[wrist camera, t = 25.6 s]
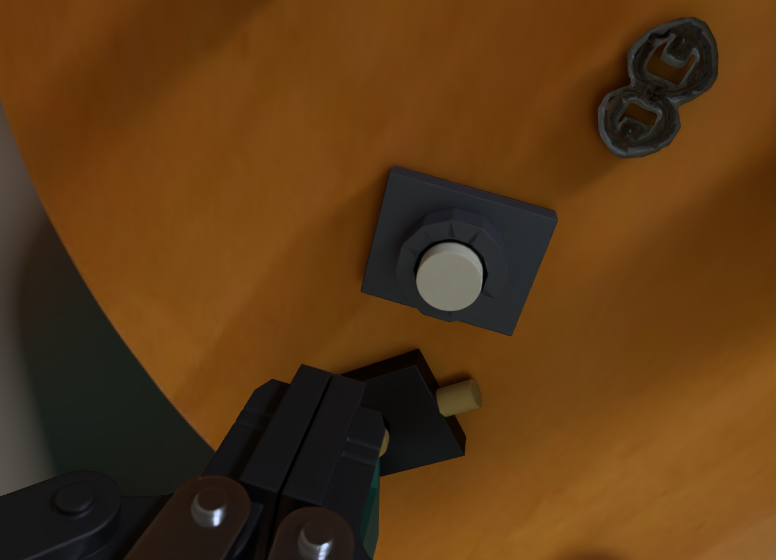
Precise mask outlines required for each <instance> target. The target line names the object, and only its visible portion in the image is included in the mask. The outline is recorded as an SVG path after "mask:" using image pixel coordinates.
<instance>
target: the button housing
mask: <svg viewBox="0 0 776 560" xmlns="http://www.w3.org/2000/svg"><path fill="white" fill-rule="evenodd" d="M557 222H558V219H557V215H556V212H555V211H553V210H549V209H546V208H542V207H539V206H535V205H532V204H528V203H525V202H521V201H517V200H514V199H510V198H507V197H503V196H500V195H496V194H493V193H489V192H486V191H482V190H479V189H475V188H471V187H468V186H464V185H461V184H457V183H454V182H450V181H447V180H443V179H440V178H436V177H433V176H429V175H425V174H422V173H418V172H415V171H411V170H408V169H404V168H401V167H397V166H393V168H392V169H391V171H390V172H389V175H388V179H387V183H386V188H385V192H384V196H383V200H382V204H381V208H380V213H379V217H378V221H377V225H376V229H375V233H374V237H373V242H372V246H371V250H370V254H369V258H368V262H367V267H366V271H365V275H364V279H363V283H362V287H361V292H363V293H366V294H369V295H373V296H376V297H380V298H383V299H386V300H390V301H393V302H396V303H400V304H403V305H407V306H410V307H413V308H417V309H418V310H419V311H420V312H421V313H423V314H424V315H427V316H431V317H434V318H437V319H441V320H444V321H447V322H453V321H461V322H464V323H468V324H471V325H474V326H478V327H481V328H485V329H488V330H491V331H495V332H498V333H502V334H505V335H508V336H512V334H513V331H514V329H515V326H516V324H517V321H518V319H519V316H520V314H521V311H522V309H523V306H524V304H525V301H526V299H527V296H528V294H529V291H530V289H531V286H532V284H533V281H534V279H535V276H536V274H537V271H538V269H539V266H540V264H541V261H542V259H543V256H544V254H545V251H546V249H547V247H548V244H549V242H550V239H551V237H552V234H553V232H554V229H555V227H556V224H557ZM443 242H457V243H461V244H464V245H466V246H468V247H469V248H471V249H472V250H473V251H474V252H475V253H476V254H477V255H478V257H479V259H480V261H481V263H482V268H483V276H482V287H481V291H480V293H479V295H478V297H477V299H476V300H475V301H474V302H473V303H472V304H470V305H469V306H467V307H465V308H463V309H460V310H456V311H445V310H440V309H437V308H435V307H433V306H431V305H430V304H428V303H427V302H426V301H425V300H424V299H423V298H422V296H421V295H420V293H419V291H418V288H417V284H416V276H417V272H418V269H419V265H420V262H421V259H422V257H423V255H424V254H425V253H426V252H427V251H428V250H429V249H430V248H431V247H433V246H434V245H437V244H439V243H443Z"/></svg>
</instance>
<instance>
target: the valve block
mask: <svg viewBox="0 0 776 560" xmlns="http://www.w3.org/2000/svg"><path fill="white" fill-rule="evenodd" d="M341 376H344V377H348V378H351V379H354V380H358V381H361V382H364V383H365V387H364V391H363V395H362V399H361V402H360V406H364V407H367V408H370V409H373V410H377V411H380V412H381V414H382V418H383V421H384V425H385V428H386V429H387V431H388V433H389V442H388V446H387V450H386V452H385V453H384V454H383V455H382V456H380V477H381V476H385V475H389V474H393V473H397V472H401V471H405V470H409V469H413V468H417V467H421V466H425V465H429V464H433V463H437V462H441V461H445V460H449V459H453V458H457V457H461V456H464V455H465V444H466V436H465V434H464V432H463V430H462V428H461V426H460V424H459V423H458V421H457V419H456V417H455V414H459V413H462V412H466V411H469V410H473V409H477V408H480V407H481V405H482V400H481V395H480V391H479V388H478V386H477V384H476V382H475V381H474V380H473V379H469V380H466V381H462V382H459V383H456V384H452V385H449V386H446V387H442V388H440V387H439V385H438V383H437V381H436V380H435V378H434V376H433V374H432V372H431V370H430V368H429V366H428V365H427V363H426V361H425V359H424V357H423V355H422V353H421V351H420V350H419V349H417V350H414V351H411V352H408V353H405V354H402V355H399V356H396V357H393V358H390V359H387V360H383V361H380V362H377V363H374V364H371V365H368V366H365V367H362V368H359V369H356V370H353V371H350V372H347V373H344V374H341ZM332 378H333V377H332Z"/></svg>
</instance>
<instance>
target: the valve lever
mask: <svg viewBox="0 0 776 560" xmlns="http://www.w3.org/2000/svg"><path fill="white" fill-rule="evenodd" d="M385 429H386V428H385ZM388 442H389V433H388V431H387V429H386V431H385V435H384V439H383V443H382V446H381V450H380V454H379V457H378V461H377V465H376V469H375V472H374V476H373V480H372V484H371V487H370V491H369V495H368V498H367V502H366V506H365V510H364V513H363V517H362V521H361V526H360V535H361V540H362V543H363V546H364V548H365V550H366V552H367V554H368V555H369V557H370V558H371V559H372V560H373V557H374V553H375V548H376V544H377V540H378V535H379V484H380V456H382V455H383V454H384V453H385V452H386V450H387V446H388Z"/></svg>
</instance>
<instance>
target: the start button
mask: <svg viewBox="0 0 776 560" xmlns="http://www.w3.org/2000/svg"><path fill="white" fill-rule="evenodd" d="M482 276H483V268H482V263H481V261H480V259H479V257H478V255H477V254H476V253H475V252H474V251H473V250H472V249H471V248H469V247H468V246H466V245H464V244H461V243H457V242H443V243H439V244H437V245H434V246H433V247H431V248H430V249H429V250H428V251H427V252H426V253H425V254H424V255H423V257H422V259H421V262H420V265H419V269H418V272H417V276H416V284H417V288H418V291H419V293H420V295H421V296H422V298H423V299H424V300H425V301H426V302H427V303H428V304H430V305H431V306H433V307H435V308H437V309H440V310H445V311H456V310H460V309H463V308H465V307H467V306H469V305H470V304H472V303H473V302H474V301H475V300H476V299H477V297H478V295H479V293H480V291H481V287H482Z"/></svg>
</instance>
